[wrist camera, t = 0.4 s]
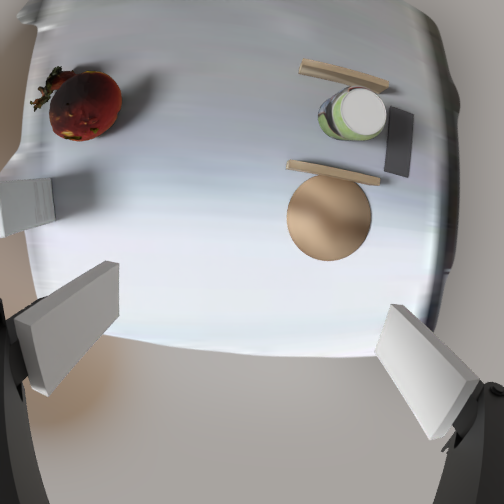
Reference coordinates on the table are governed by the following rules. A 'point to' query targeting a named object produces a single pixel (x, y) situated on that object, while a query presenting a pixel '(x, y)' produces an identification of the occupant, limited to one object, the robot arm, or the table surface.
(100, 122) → the dark red rounded pieces
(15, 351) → the robot arm
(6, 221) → the supplement box
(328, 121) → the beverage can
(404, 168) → the pad
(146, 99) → the table surface
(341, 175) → the channel
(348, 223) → the coaster
